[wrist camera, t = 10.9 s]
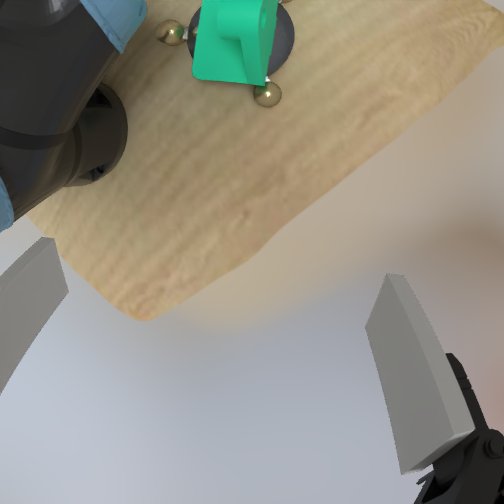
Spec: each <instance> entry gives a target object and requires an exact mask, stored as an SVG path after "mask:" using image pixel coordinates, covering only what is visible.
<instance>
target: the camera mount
mask: <svg viewBox="0 0 504 504" xmlns="http://www.w3.org/2000/svg"><path fill="white" fill-rule="evenodd" d="M277 6H278V0H203V2H202V7H201V13H200V19H199V25H198V31H197V38H196V44H195V51H194V58H193V66H192V74H193V76H194V77H195V78H197V79H200V80H212V81H225V82H236V83H245V84H253V85H261V86H265V81H266V75H267V68H268V62H269V56H270V55H271V52H272V45H273V39H274V33H275V27H276V20H277V17H276V12H277Z"/></svg>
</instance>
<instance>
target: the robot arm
mask: <svg viewBox="0 0 504 504" xmlns="http://www.w3.org/2000/svg"><path fill="white" fill-rule="evenodd" d="M146 14H147V4H146V2H145V0H0V232H2V231H3V230H5V229H8V228H9V227H11V226H12V225H13V223H14V222H15V221H16V220H18V219H19V218H20V217H21V216H23V215H24V214H25V213H27V212H28V211H29V210H31V209H32V208H34V207H35V206H36V205H38V204H39V203H41V202H42V201H43V200H45V199H46V198H48V197H49V196H51V195H52V194H53V193H55V192H56V191H58V190H59V189H61V188H62V187H70V186H82V185H87V184H90V183H93V182H95V181H97V180H99V179H100V178H102V177H103V176H105V175H106V174H108V173H109V172H110V171H111V170H112V169H113V168H114V167H115V166H116V164H117V163H118V161H119V160H120V158H121V156H122V154H123V151H124V148H125V145H126V140H127V118H126V114H125V110H124V107H123V105H122V103H121V101H120V99H119V98H118V96H117V95H116V93H115V92H114V91H113V90H112V89H111V88H109V87H108V86H107V85H105V84H103V83H101V80H102V79H103V77H104V76H105V74H106V73H107V72H108V70H109V69H110V67H111V66H112V64H113V63H114V62H115V60H116V59H117V58H118V56H119V55H120V54H123V52H124V51H125V46H126V45H127V43H128V42H129V40H130V39H131V37H132V36H133V34H134V33H135V32H136V30H137V29H138V28H139V26H140V25H141V24H142V22H143V21H144V19H145V17H146ZM68 292H69V291H68V287H67V284H66V281H65V277H64V274H63V271H62V267H61V263H60V260H59V256H58V252H57V248H56V244H55V240H54V239H53V238H45V237H41V238H40V239H39V240H38V241H37V242H36V243H35V244H34V245H32V247H30V248H29V249H28V250H27V251H26V252H25V253H24V254H23V255H22V256H21V257H19V258H18V259H17V260H16V261H15V262H14V263H13V264H12V265H11V266H10V267H9V268H8V269H7V270H6V271H5V272H4V273H3V274H2V275H1V276H0V394H1V393H2V391H3V389H4V387H5V386H6V384H7V382H8V381H9V379H10V377H11V375H12V374H13V372H14V370H15V369H16V367H17V366H18V364H19V362H20V361H21V359H22V358H23V356H24V354H25V352H26V351H27V350H28V348H29V347H30V345H31V344H32V342H33V341H34V339H35V338H36V336H37V335H38V333H39V332H40V331H41V329H42V327H43V326H44V325H45V323H46V322H47V321H48V319H49V318H50V316H51V315H52V314H53V312H54V311H55V310H56V308H57V307H58V305H59V304H60V303H61V301H62V300H63V299H64V297H65V296H66V295H67V293H68ZM365 329H366V332H367V336H368V339H369V342H370V346H371V349H372V353H373V356H374V360H375V363H376V367H377V370H378V374H379V378H380V381H381V385H382V389H383V393H384V397H385V401H386V405H387V409H388V413H389V417H390V422H391V426H392V431H393V435H394V440H395V445H396V450H397V455H398V460H399V465H400V471H401V475H405V474H409V473H414V472H418V471H422V470H423V469H425V468H426V467H428V466H429V465H431V464H433V468H434V470H433V471H431V472H430V473H428V474H427V475H425V476H424V477H422V478H421V479H419V481H418V482H417V483H416V484H418V485H419V484H421V483H423V482H424V481H426V482H425V484H424V485H423V486H422V487H423V488H422V489H421V492H420V493H419V495H418V497H417V499H416V500H415V502H414V504H504V436H503V435H502V434H501V433H500V432H499V431H498V430H494V429H489V428H488V426H487V424H486V421H485V418H484V416H483V413H482V411H481V408H480V405H479V403H478V401H477V399H476V396H475V393H474V391H473V390H472V389H471V387H472V386H471V384H470V382H469V380H468V379H467V375H466V373H465V371H464V368H463V366H462V364H461V363H460V362H459V361H458V360H457V358H456V357H455V356H454V355H453V354H452V353H446V354H445V353H444V350H443V349H442V346H441V344H440V342H439V340H438V338H437V336H436V334H435V332H434V330H433V328H432V326H431V324H430V322H429V320H428V318H427V316H426V314H425V312H424V310H423V308H422V307H421V305H420V303H419V301H418V299H417V298H416V296H415V294H414V292H413V290H412V288H411V287H410V285H409V283H408V281H407V280H406V278H405V276H404V275H399V274H386V276H385V279H384V282H383V284H382V287H381V289H380V292H379V295H378V297H377V300H376V302H375V305H374V307H373V309H372V312H371V314H370V317H369V319H368V321H367V324H366V326H365Z"/></svg>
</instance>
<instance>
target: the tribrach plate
mask: <svg viewBox="0 0 504 504" xmlns="http://www.w3.org/2000/svg"><path fill="white" fill-rule="evenodd" d="M290 1H292V0H278V6H277V12H276V17H277V20H276V27H275V33H274V39H273V45H272V52H271V55H270V56H269V62H268V68H267V75H266V81H265V86H261V85H256V88H255V90H254V98H255V100H256V102H257V103H258V104H259V105H261V106H264V107H272V106H275V105H276V104H277V103H278V102H279V101H280V99H281V90H280V88H279V86H278V85H277V84H275V83H273V82H270V81H269V79H268V76H269V75H271V74H273V73H274V72H275V71H277V70H278V69H279V68H280V67H281V66H282V65H283V64H284V62H285V61H286V60H287V58H288V56H289V54H290V52H291V50H292V47H293V43H294V27H293V23H292V20H291V18H290V16H289V14H288V13H287V11H286V10H285V9H284V7H283V6H282V5H281V3H287V2H290ZM201 7H202V6H201ZM201 7H200V8H199V9H198V10H197V12H196V13H195V15H194V16H193V18H192V20H191V22H190V25H189V27H185V26H183V25H182V24H180V23H179V22H177V21H176V20H166V21H163V22H162V23H161V24H160V25H159V26H158V28H157V30H156V36H157V38H158V39H159V40H160V41H162V42H164V43H167V44H169V45H173V46H176V45H180V44H182V43H183V42H184V41H185V40H187V41H188V47H189V51H190V53H191V56H192V57H193V58H194V51H195V44H196V38H197V31H198V25H199V19H200V13H201ZM234 83H236V82H234Z"/></svg>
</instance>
